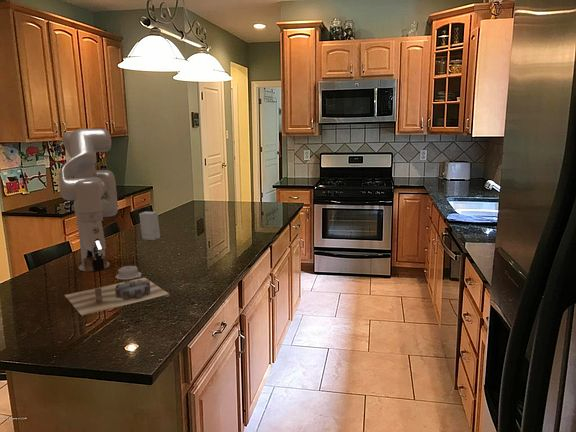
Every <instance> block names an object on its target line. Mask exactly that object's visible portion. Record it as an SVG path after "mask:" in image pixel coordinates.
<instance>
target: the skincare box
mask: <svg viewBox="0 0 576 432" xmlns="http://www.w3.org/2000/svg"><path fill="white" fill-rule="evenodd" d="M138 215H139V222H140V229H141V230H140V231H141V232H140V233H141V238H142V239H141V240H145V241H146V240H148V241H149V240H150V241H155V240H159V239H161V232H160V225H159V224H160V223H159V216H158V211H147V210H146V211H142V212H140V213H139V214H138Z"/></svg>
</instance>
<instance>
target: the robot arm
mask: <svg viewBox="0 0 576 432" xmlns="http://www.w3.org/2000/svg"><path fill="white" fill-rule="evenodd" d="M61 140H62V143H63V147H64V149H65V151H66V153H68V155H69V157H70V158H69V159H68V160H66V161H65V163H64V164H63V165H62V166H61V168H60V171H59V174H58V182H59V185H58V186H59V194H60V196H61V198H62V199H64V200H65V201H69V202H71V201H73V210H74V215H75V219H76V222H77V229H78V239H79V246H80V255H81V258H80V259H81V264H80V265H78V270H79V271H81V272H86V271H85V270H84V264H83V259H84V258H86V257H91V256H93V258H94V260H93V267H94V271H93V272H101V271H104V270H105V269H104V262H103V256H105V257H106V251H105V250H106V248H107V247H106V240H105V239H106V238H105V233H104V227H103V223H102V221H104V218H108V217H114V216H116V215H117V214H118V211H119V205H118V203H119V202H118V193H117V183H116V177H115V174H114V173H113V172H112V171H111V170H109V169H99V170H98V169H96V164H97V163H98V162H97V161H98V160H97V153H104V152H105V153H106V152H109V151H110V150H111V148H112V136H111V134H110V132H109V131H108V130H107V129H106V128H99V127H98V128H97V127H96V128H77V129H75V130H72V131H67V132H65V133H64V134H63V135H62V139H61ZM110 264H111V263H110V262H109V261H107V268H109V267H110Z"/></svg>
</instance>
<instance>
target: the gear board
mask: <svg viewBox="0 0 576 432" xmlns="http://www.w3.org/2000/svg"><path fill="white" fill-rule="evenodd" d="M162 296H163V297H164V299H165V298H169V297H170V296H171V295H170V293H169V292H167V291H166V290H165V289H163V288H161V287H160V286H158V285H157V284H155V283H154V282H152V281H151V280H149V279H148V278H147V277H141V278H135V279H130V280H127V281H126V280H125V281H122V282H118V283H113V284H108V285H104V286H100V287H99V286H98V287H95V288H90V289H86V290H81V291H76V292H72V293H68V294H64V297H65V298H66V299H67V301H68V302H69V303H70V304H71V305H72V306H73V307H74V308H75V310H76V311H77V312H78V313H79V315H81V317H82V318H81V319H86V318H87V319H88V318H89V317H93V316H98V315H102V314H105V313H110V312H114V311H117V310H118V311H119V308H120V307H121V308H120V310H121V309H123V306H124V309H125V308H127V305H129V306H128V308H129V307H131V305H132V304H134V305H132V307H134V306H135V304H136V306H137V305H139V303H140V305H142V304H143V301H144V304H147V300H150V301H148V303H150V302H151V300H152V299H153V300H152V302H154V301H155V298H157V299H156V301H158V300H159V297H160V300H162V299H163V297H162ZM161 297H162V298H161ZM116 308H117V309H116ZM111 309H112V310H111ZM113 309H114V310H113ZM107 310H109V311H107ZM103 311H106V312H103ZM99 312H100V313H99ZM95 313H97V314H95ZM90 314H95V315H90ZM86 315H90V316H86ZM83 316H86V317H83Z"/></svg>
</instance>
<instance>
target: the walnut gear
mask: <svg viewBox="0 0 576 432" xmlns="http://www.w3.org/2000/svg"><path fill="white" fill-rule="evenodd" d="M93 260H94V258H93V256H91V257H86V258H84V259H83V264H84V270H85V271H84V272H95V271H94V267H93ZM103 262H104V270H105V269H107V268H108V267H107V262H108V261H107V256H106V255H105V256H103Z"/></svg>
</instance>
